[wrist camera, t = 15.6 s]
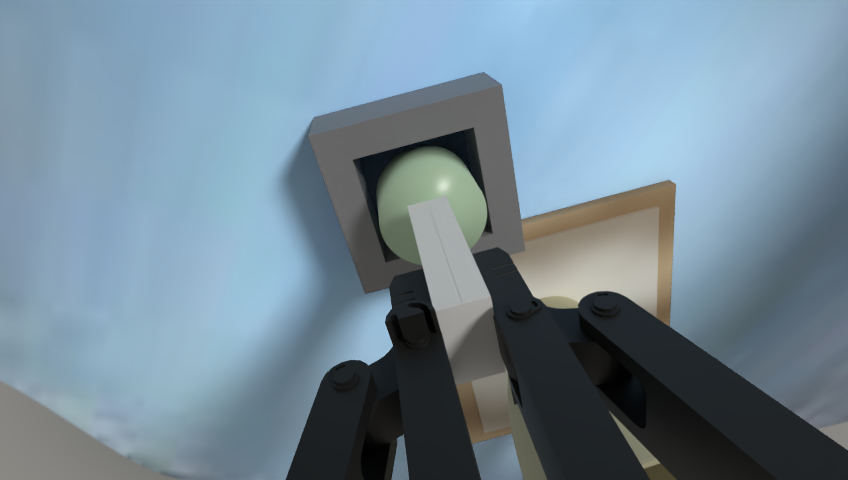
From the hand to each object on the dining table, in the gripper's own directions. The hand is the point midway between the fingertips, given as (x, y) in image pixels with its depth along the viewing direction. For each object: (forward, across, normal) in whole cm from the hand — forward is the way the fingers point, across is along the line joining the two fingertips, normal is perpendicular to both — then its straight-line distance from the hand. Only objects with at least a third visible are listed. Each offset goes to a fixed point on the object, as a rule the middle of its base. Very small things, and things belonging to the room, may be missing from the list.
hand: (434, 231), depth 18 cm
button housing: (+6, 0, 0) cm, 6 cm away
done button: (+4, 0, 0) cm, 4 cm away
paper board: (+6, +6, -12) cm, 15 cm away
